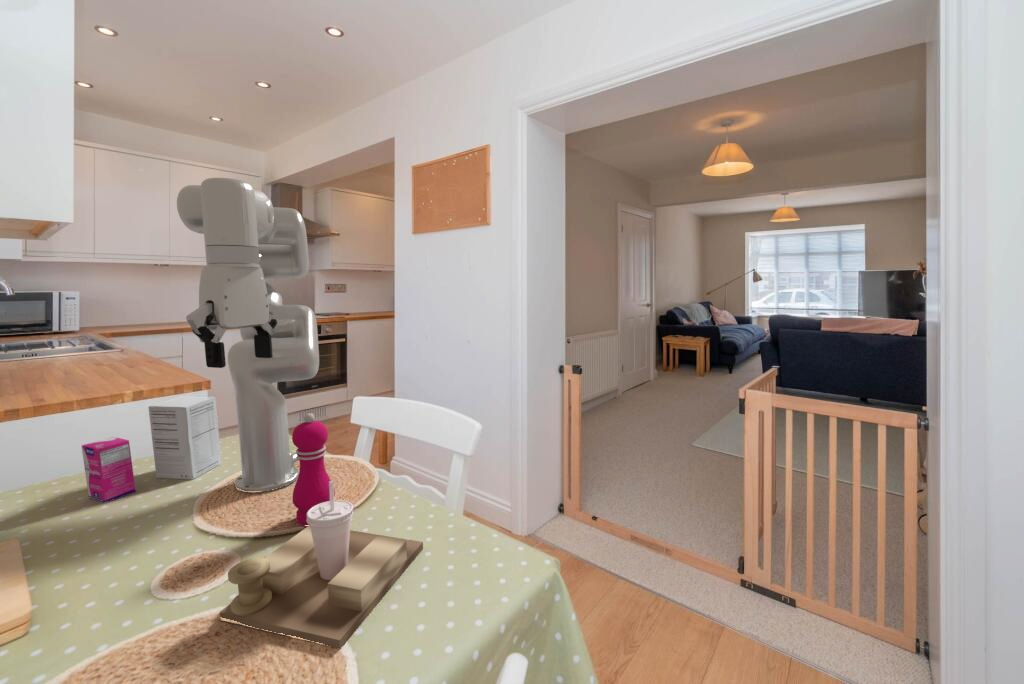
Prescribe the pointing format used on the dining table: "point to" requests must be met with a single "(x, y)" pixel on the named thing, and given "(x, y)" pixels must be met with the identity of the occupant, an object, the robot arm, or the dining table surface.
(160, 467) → the supplement box
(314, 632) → the notched board
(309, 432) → the pepper mill
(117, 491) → the supplement box
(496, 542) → the dining table surface
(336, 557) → the smoothie
